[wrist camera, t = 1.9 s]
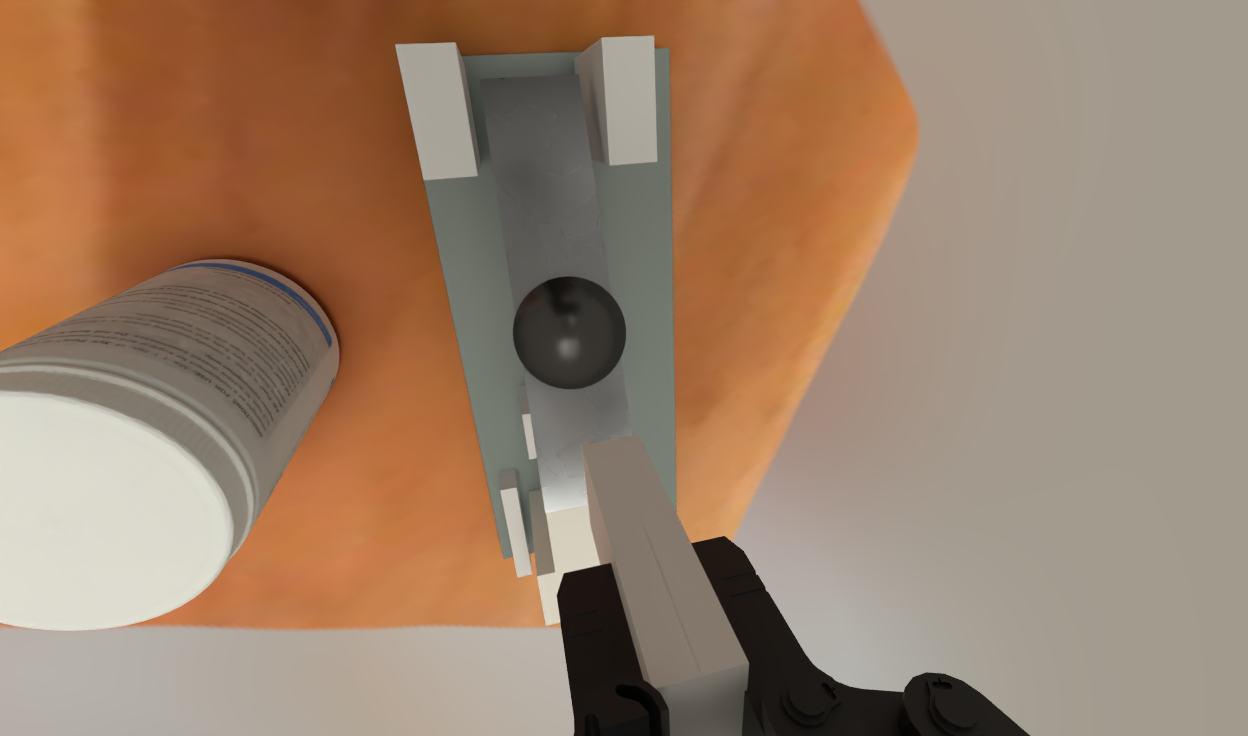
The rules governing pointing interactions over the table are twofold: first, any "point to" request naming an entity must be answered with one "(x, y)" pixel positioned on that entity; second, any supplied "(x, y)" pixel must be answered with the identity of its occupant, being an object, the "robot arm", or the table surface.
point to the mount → (476, 259)
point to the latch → (559, 548)
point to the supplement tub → (151, 440)
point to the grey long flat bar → (557, 275)
